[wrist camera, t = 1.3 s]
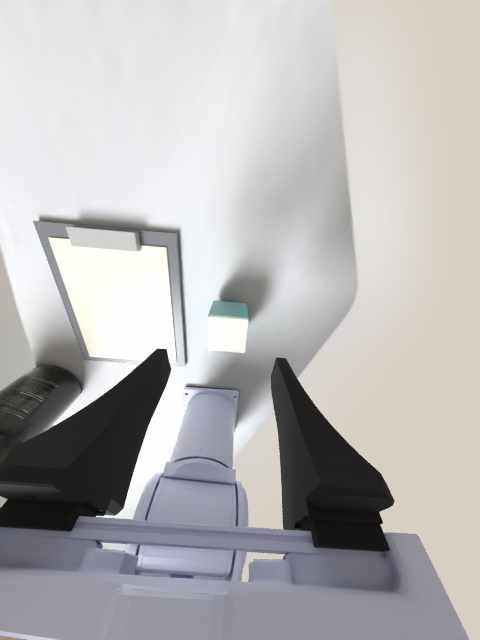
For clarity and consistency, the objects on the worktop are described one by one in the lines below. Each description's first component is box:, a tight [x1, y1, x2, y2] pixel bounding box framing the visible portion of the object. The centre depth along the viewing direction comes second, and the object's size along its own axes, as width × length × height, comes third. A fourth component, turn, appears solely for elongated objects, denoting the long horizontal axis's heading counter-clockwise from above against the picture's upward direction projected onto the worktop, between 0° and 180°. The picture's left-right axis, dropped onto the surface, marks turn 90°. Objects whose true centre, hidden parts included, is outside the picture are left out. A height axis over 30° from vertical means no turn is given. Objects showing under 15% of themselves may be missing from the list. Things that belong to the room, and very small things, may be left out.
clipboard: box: [33, 221, 186, 367], centre depth 21 cm, size 16×13×1 cm
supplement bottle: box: [0, 366, 81, 462], centre depth 21 cm, size 7×7×12 cm
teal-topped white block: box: [208, 301, 249, 353], centre depth 19 cm, size 4×4×5 cm
